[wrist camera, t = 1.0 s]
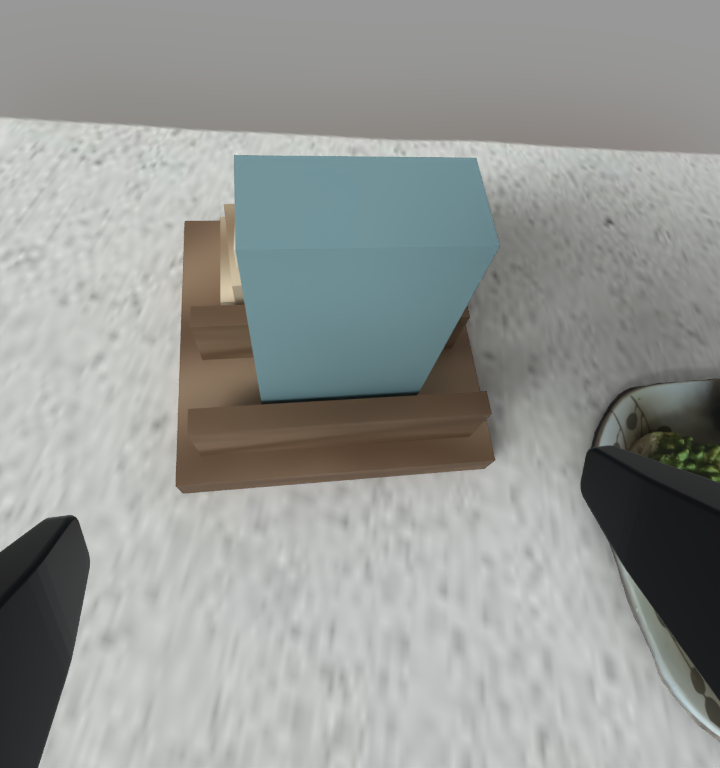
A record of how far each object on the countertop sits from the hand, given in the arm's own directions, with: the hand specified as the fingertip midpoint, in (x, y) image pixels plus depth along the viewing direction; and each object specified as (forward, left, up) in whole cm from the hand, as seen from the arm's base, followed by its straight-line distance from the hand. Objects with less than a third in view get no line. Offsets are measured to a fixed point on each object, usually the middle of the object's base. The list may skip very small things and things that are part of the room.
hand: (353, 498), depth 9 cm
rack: (+8, -8, -14) cm, 18 cm away
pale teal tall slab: (+5, -6, -13) cm, 15 cm away
